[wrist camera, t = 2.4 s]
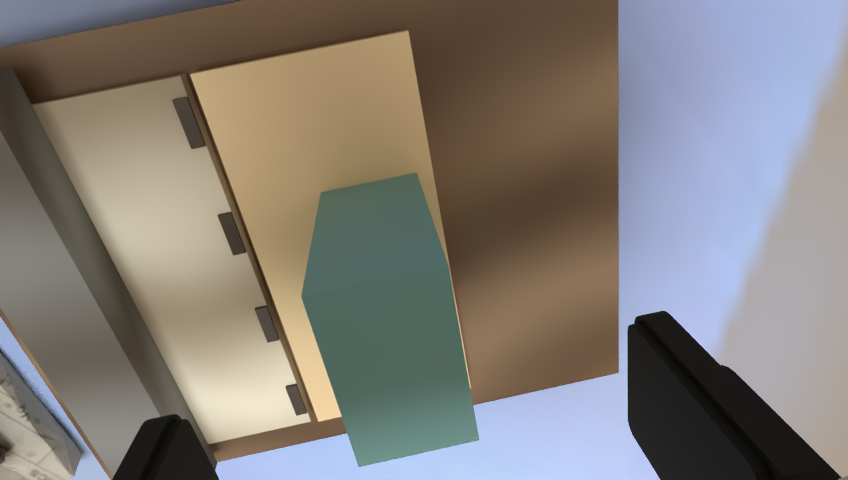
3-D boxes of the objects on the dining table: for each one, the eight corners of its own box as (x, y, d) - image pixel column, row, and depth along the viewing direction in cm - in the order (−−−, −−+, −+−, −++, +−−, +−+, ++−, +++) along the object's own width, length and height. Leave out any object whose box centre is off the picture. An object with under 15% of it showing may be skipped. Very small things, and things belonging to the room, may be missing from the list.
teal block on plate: (195, 71, 14) (79, 124, 8) (406, 29, 14) (440, 52, 8) (319, 412, 20) (303, 584, 14) (468, 379, 20) (514, 536, 14)
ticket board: (-112, 71, 14) (-247, 92, 11) (594, -67, 15) (659, -84, 12) (129, 454, 22) (89, 534, 18) (602, 350, 22) (644, 409, 19)
